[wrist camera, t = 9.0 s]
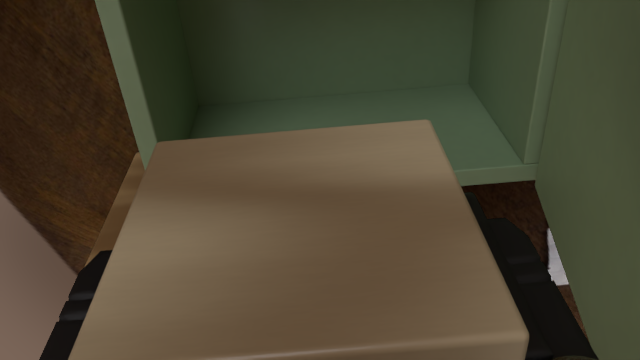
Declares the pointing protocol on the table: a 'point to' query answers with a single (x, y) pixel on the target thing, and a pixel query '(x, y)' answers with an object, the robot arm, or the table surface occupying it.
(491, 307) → the block
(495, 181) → the chest
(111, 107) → the table surface
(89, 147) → the table surface
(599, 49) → the lid
